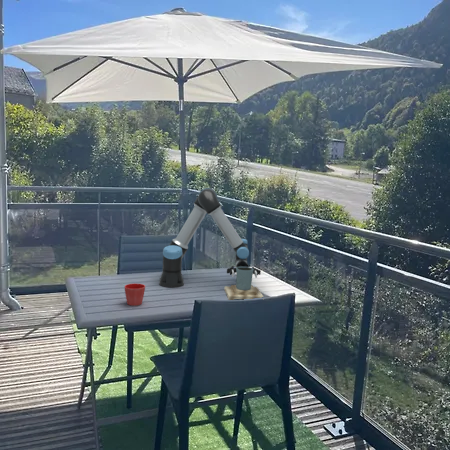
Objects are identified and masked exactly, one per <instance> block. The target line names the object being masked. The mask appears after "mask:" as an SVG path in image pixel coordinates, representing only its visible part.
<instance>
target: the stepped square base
mask: <svg viewBox="0 0 450 450" xmlns="http://www.w3.org/2000/svg"><path fill="white" fill-rule="evenodd" d="M223 288H224V292H225V295H226V296H227V299H228V300H229V301H235V300H234V299H253V298H262V297H264V295H263V294H262V292H261V290H259V288H258V287H257V286H254V285H252V284H251V289H250V290H239V289H237V288H236V284H231V285H229V286H224V287H223Z"/></svg>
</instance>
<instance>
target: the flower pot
mask: <svg viewBox="0 0 450 450" xmlns="http://www.w3.org/2000/svg"><path fill="white" fill-rule="evenodd" d="M145 291H146V285H145V284H143V283H128V284H125V285H124V295H125V299H126V303H127V305H128V306H135V307H136V306H140V305H142V304H143V300H144V295H145Z"/></svg>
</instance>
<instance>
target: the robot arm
mask: <svg viewBox="0 0 450 450" xmlns="http://www.w3.org/2000/svg"><path fill="white" fill-rule="evenodd" d="M193 204H194V207H193V209H192V210H191V212H190V213H189V215H188V217H187V219H186V221H185V222H184V224H183V225H182V228H180V231H179V232H178V234H177V236H176V237H175V238H173V239H172V240H171V241H170V243H169V245H167V246H164V247H163V249H162V271H161V275H160V277H159V283H158V284H159V286H161V287H164V288H179V287H183V286H184V283H185V282H184V276H183V273H182V265H183V264H182V263H183V261H182V260H183V258H184V257H185V255H186V252H187V251H188V249H189V246H188V245H189V243H190V242H191V240H192V238H193V237H194V234H195V233H196V231H197V230H198V228H199V227H200V225H201V223H202V221H203V220H204V218H205V216H206V214H207V215H208V216H211V218H212V219H213V221H214V222H215V224H216V225H217V227H218V228H219V230H220V231H221V233H222V235H224V237H225V238H226V240H227V242H228V243H229V245H230V246H231V248H232V249H233V251H234V252H235V260H234V264H235V266H234V265H231V266H230V267H229V268H226V274H229V275H230V276H232V278H234V277H235V273H236V268H237V267H249V264H248V258H249V256H250V251H249V247H248V246H249V245H248V240H247V239H246V238H241V237H240V235H239V234H238V232H237V231H236V228H235V227H234V226H233V224H232V222H231V221H230V219H229V218H228V216H227V215H226V214H225V212H224V211H223V209H222V205H221V204H220V202H219V200H218V194H217V192H216V191H215V190H214V189H212V188H210V187H206V188H203V189H201V190H200V191H199V194H198V195H197V197H196V199H195V201H194V202H193ZM251 268H253V269H254V270H253V275H254V277H255V279H257V278H258V276H261V272H262V271H261V270H260V269H258V268H256V267H254V266H251Z"/></svg>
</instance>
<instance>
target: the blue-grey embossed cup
mask: <svg viewBox="0 0 450 450" xmlns="http://www.w3.org/2000/svg"><path fill="white" fill-rule="evenodd" d="M253 270H254V269H253V268H252V267H249V266H248V267H237V268H236V277H235V278H236V281H235V282H236V284H235V285H236V288H237V289H239V290H250V289H251V285H252V283H253V282H252V281H253V276H254V274H253Z"/></svg>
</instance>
